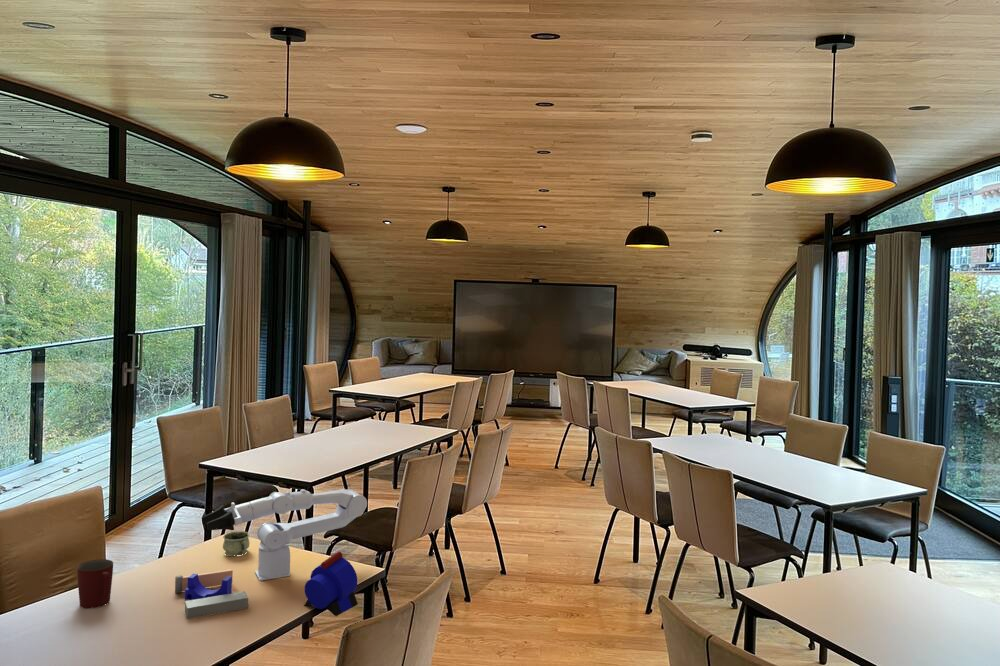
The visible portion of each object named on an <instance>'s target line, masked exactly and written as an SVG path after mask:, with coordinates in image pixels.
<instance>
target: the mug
mask: <svg viewBox="0 0 1000 666" xmlns="http://www.w3.org/2000/svg"><path fill="white" fill-rule="evenodd" d="M76 568H77V570H76V571H77V572H76V573H77V587H78V588H77V589H78V598H79V606H80V608H83V609H96V608H97V609H98V608H101V607H104V606H106V605H108V604H109V603H110V602H109V601H110V600H111V593H112V584H113V576H114V575H113V573H114V561H112V560H111V559H105V558H99V559H91V560H88V561H87V560H86V561H84V562H81V563H80V564H78V565H77V567H76ZM107 603H108V604H107ZM105 604H106V605H105Z"/></svg>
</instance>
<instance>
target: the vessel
mask: <svg viewBox="0 0 1000 666" xmlns="http://www.w3.org/2000/svg"><path fill="white" fill-rule="evenodd" d="M250 536H251V535H250V532H248V531H243V530H242V531H241V530H240V531H237V530H236V531H231V532H227V533H225V534H224V535H223V537H222V538H223V539H224V541H223V544H222V549H223V551H225V552H224V554H226V555H228V556H234V555H235V556H237V555H242V554H243V556H245V555H246V554H245V553H246V552H247V551H248V550H247V549H249V547H250V539H249V537H250ZM244 554H245V555H244ZM228 556H227V557H228Z"/></svg>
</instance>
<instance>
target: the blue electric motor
mask: <svg viewBox="0 0 1000 666" xmlns="http://www.w3.org/2000/svg"><path fill="white" fill-rule="evenodd" d="M358 579H359V578H358V575H357V572H356V570H355V568H354V566H353V565H352V564H351V562H349V561H348V560H347V559H346V558H344V557H343V553H342V551H336V552H335V553H334V554H332V555H330V557H328V558H327V559H325V560H324V561H322V562H321V563H320V564H319V565H318V566H316V567H315V568H314V569H313V570H312V571H311V574H310V579H309V580H307V581H306V583H305V584H304V595H305V597H306V602H305V603H304V605H303V606H304V607H306V606H309V605H311V606H313V607H314V608H316V609H319V610H323V609H327V610H328V611H329V613H331V614H332V615H333V616H334V617H338V616H340V615H341V614H343V613H345V612H347V611H349V610H351V609H352V608H354V607H356V606H358V604H359V603H358V601H357V597H356V595H355V593H354V592H355V591H356V590H357V587H358V581H359V580H358Z"/></svg>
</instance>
